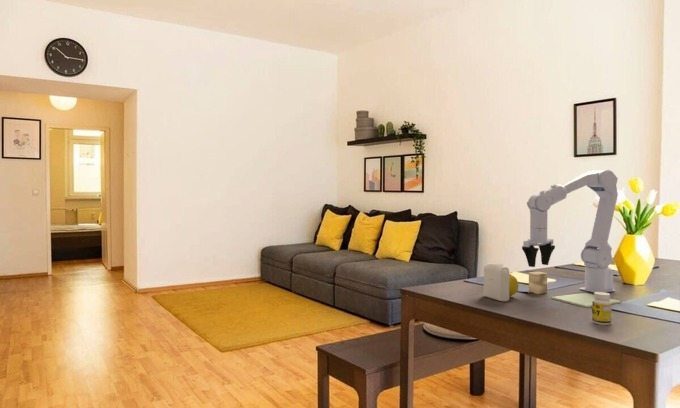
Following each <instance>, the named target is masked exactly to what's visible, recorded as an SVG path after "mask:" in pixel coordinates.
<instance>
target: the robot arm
mask: <svg viewBox="0 0 680 408" xmlns="http://www.w3.org/2000/svg"><path fill="white" fill-rule="evenodd" d="M617 183H618V177H617V175H616V174H615V173H614V172H613V171H612V170H610V169H606V170H605V169H604V170H589V171H587V172H584V173H582V174H580V175H579V176H577V177H575V178H573V179H572V180H570V181H569V182H567V183H564V184H563V185H561V184H552V185H550V187H549V188H547V189H545V190H541V191H539V194H532V195H531V196H530V197H529V198H528V201H527V202H526V206H527V207H528V209H529V214H530V215H529V220H530V221H529V222H530V223H529V225H530V226H529V227H530V228H529V231H530V232H529V233H530V234H529V236H530V237H529V239H527V240H523V245H522V246H521V249H522V251H523V252H524V256H525V257H526V261H527V264H528V267H531V268H535V267H536V260H537V255H538V251H540V257H541V258H540V259H541V265H543V266H549V264H550V259H551V256H552V254H553V252H554V251H555V248H556V246H555V245H554V239H553V238H548V210H550V208H551V207H552V206H554V205H556V204H558V203H560V201H563V200H565V199H566V198H567V195H568V194H570V193H573V192H574V191H577V190H579V189H581V188H583V187H585V186H586V187H588V188H589V189H590V190H592V191H593V192H594V193H596V194H597V196H598V197H599V201H598V203H597V204H598V205H597V209H596V214H595V218H594V222H593V228H592V232H591V236H590V237H591V238H589V240H587V242H585V245H584V247H583V249H582V250H581V252H580V259H581V260H582V262H583V265H584V287H579V288H578V289H579V290H581V291H586V292H590V293H594V292H605V293H609V292H610V293H611V292H616V289H615V288H614V271H613V270H612V268H611V267H610V266H609V265H611V263H612V260H613V256H612V249H613V247H611V245H610V244H609V242H608V241H609V237H610V232H611V227H612V223H613V218H614V213H615V210H616V205H617V200H618V195H619V194H618V193H619V192H618V188H617ZM536 246H537V247H536Z"/></svg>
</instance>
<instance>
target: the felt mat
mask: <svg viewBox="0 0 680 408" xmlns="http://www.w3.org/2000/svg"><path fill="white" fill-rule="evenodd" d="M593 299H595V298H594V294H592V293H588V292H581V293H573V294H564V295H558V296H557V295H555V296H551V300H555V301H559V302H563V303H567V304H571V305H574V306H578V307H582V308H586V309H588V308H589V309H590V308H592V301H593ZM609 300H610V301H611V305H616V304H622V301H621V300H618V299H614V298H610V299H609Z"/></svg>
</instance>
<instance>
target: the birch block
mask: <svg viewBox="0 0 680 408" xmlns="http://www.w3.org/2000/svg"><path fill="white" fill-rule="evenodd" d="M529 291H531V292H530V293H532V292H533V293H532V294H536V295H540V294H547V293H548V273H546V272H542V271H533V272H528V292H529Z"/></svg>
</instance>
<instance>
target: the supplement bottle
mask: <svg viewBox="0 0 680 408" xmlns="http://www.w3.org/2000/svg"><path fill="white" fill-rule="evenodd" d="M593 295H594V298H595V299H593V301H592V307H591V309H592V313H591V320H592V321H591V322H592V323H594V324H595V325H600V326H601V325H602V326H606V325H607V326H609V325H611V324H612V304H611V301H610V300H609V299H611V293H609V292H593Z"/></svg>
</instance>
